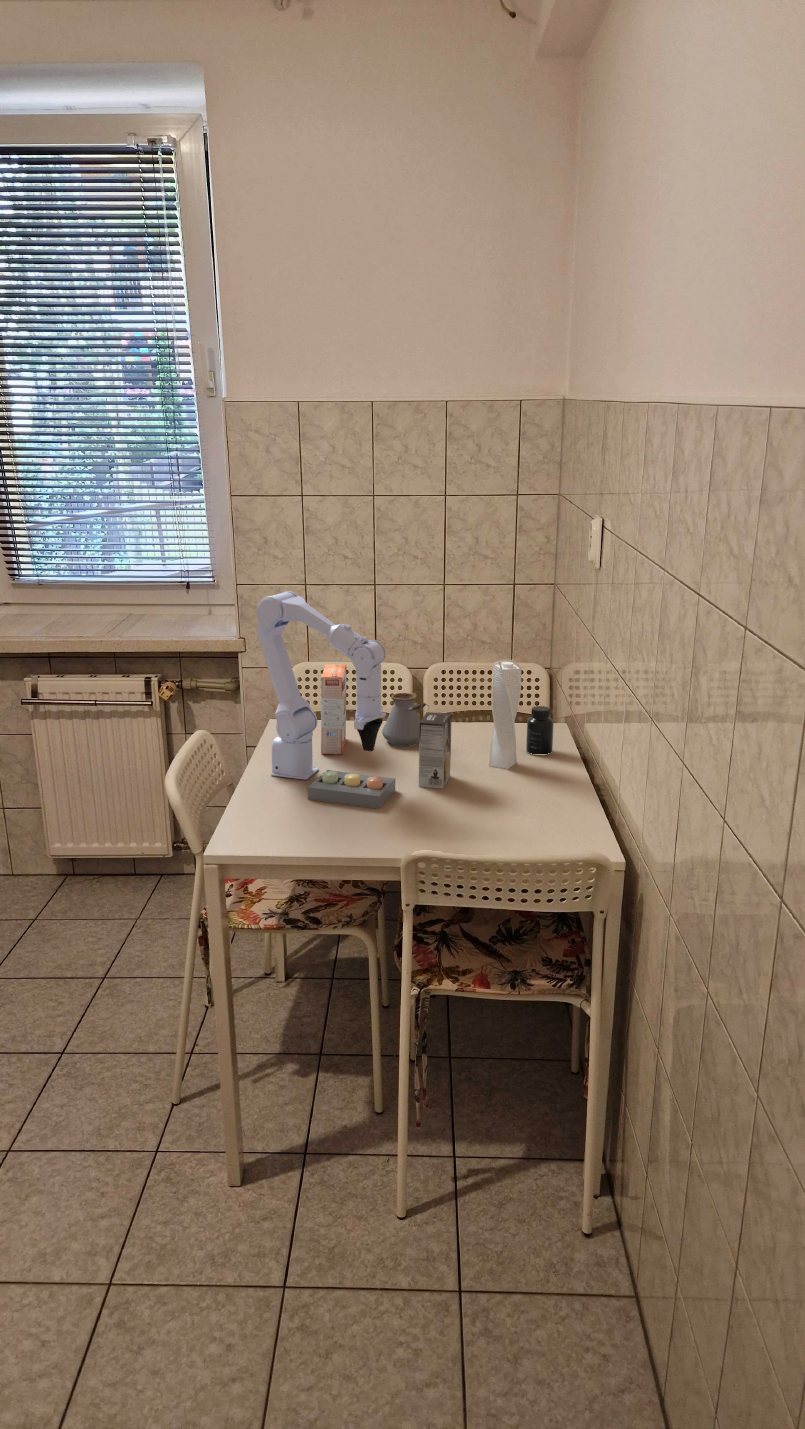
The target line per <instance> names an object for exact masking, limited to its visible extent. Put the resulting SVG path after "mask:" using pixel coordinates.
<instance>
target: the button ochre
mask: <svg viewBox="0 0 805 1429" xmlns="http://www.w3.org/2000/svg"><path fill="white" fill-rule="evenodd" d="M357 774H358V773H356V774H347V775H345V776H344V784H345V785H346V786H353V787H359V786H360V775H357Z"/></svg>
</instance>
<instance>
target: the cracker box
mask: <svg viewBox="0 0 805 1429" xmlns="http://www.w3.org/2000/svg"><path fill="white" fill-rule="evenodd" d="M320 681H321V682H320V683H321V684H320V704H321V705H320V716H321V717H320V719H321V720H320V729H321V730H320V754H321V755H337V756H338V755H339V756H341V755H343V751H344V747H345V742H346V736H347V735H346V734H347V733H346V732H347V731H346V730H347V724H346V723H347V665H346V664H341V663H340V664H333V663H331V664H330V663H326V664H325V666H324V669H323V672H322V674H321V677H320Z"/></svg>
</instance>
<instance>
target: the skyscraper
mask: <svg viewBox="0 0 805 1429" xmlns="http://www.w3.org/2000/svg"><path fill="white" fill-rule="evenodd" d="M492 665H493V666H492V676H491V692H490V693H491V695H490V696H491V697H490V698H491V701H490V702H491V712H492V713H491V714H492V720H493V727H492V728H493V730H492V736H491V742H490V750H489V751H490V753H489V760H488V766H490V767H493V768H499V769H504V770H509V769H510V768H512V767H513V766H514V765H516V764H517V763H518V761H517V760H518V757H517V737H516V722H515V720H516V717H517V714H518V709H519V705H520V700H521V691H522V667H521V665H520V663H518V662H517V661H516V660H513V659H509V658H508V659H506V658H505V659H500V660H496V661H494V662H493V664H492ZM515 763H516V764H515ZM512 765H513V766H512Z"/></svg>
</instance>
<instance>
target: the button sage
mask: <svg viewBox="0 0 805 1429" xmlns="http://www.w3.org/2000/svg"><path fill="white" fill-rule="evenodd" d="M334 771H335V770H331V771H327V770H326V771H323V772H321V775H322V783H330V784H336V783H337V782H338V773H337V772H334Z"/></svg>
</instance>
